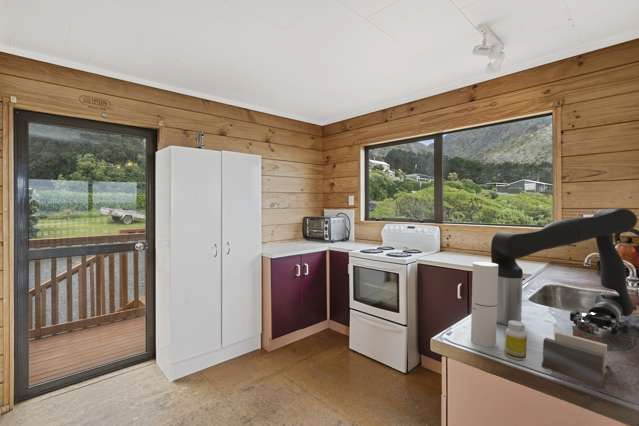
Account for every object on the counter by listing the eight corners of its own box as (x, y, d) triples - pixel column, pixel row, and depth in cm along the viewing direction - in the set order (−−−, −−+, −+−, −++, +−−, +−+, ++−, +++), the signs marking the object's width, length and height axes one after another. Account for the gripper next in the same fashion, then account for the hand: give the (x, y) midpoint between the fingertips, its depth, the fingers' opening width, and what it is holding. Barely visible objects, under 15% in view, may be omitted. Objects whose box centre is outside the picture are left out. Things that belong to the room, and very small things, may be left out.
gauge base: (554, 353, 94) (555, 328, 94) (610, 371, 85) (611, 343, 84) (541, 366, 87) (542, 339, 87) (601, 387, 77) (602, 357, 77)
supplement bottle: (529, 361, 90) (530, 327, 89) (508, 359, 91) (509, 325, 90) (521, 352, 95) (522, 320, 94) (501, 350, 96) (502, 318, 95)
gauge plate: (555, 351, 93) (556, 331, 92) (609, 368, 84) (610, 345, 83) (554, 353, 92) (555, 332, 91) (608, 369, 83) (609, 347, 82)
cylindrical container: (486, 348, 97) (488, 267, 96) (466, 339, 104) (467, 262, 102) (501, 343, 101) (503, 264, 99) (480, 335, 107) (482, 260, 106)
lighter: (567, 350, 96) (569, 317, 96) (578, 349, 97) (579, 317, 96) (592, 363, 88) (594, 328, 88) (604, 363, 89) (605, 327, 88)
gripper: (578, 298, 115) (566, 308, 104) (634, 309, 104) (626, 321, 93) (577, 319, 115) (565, 331, 105) (633, 332, 104) (625, 347, 94)
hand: (594, 326), depth 99 cm, fingers open, 8 cm apart
